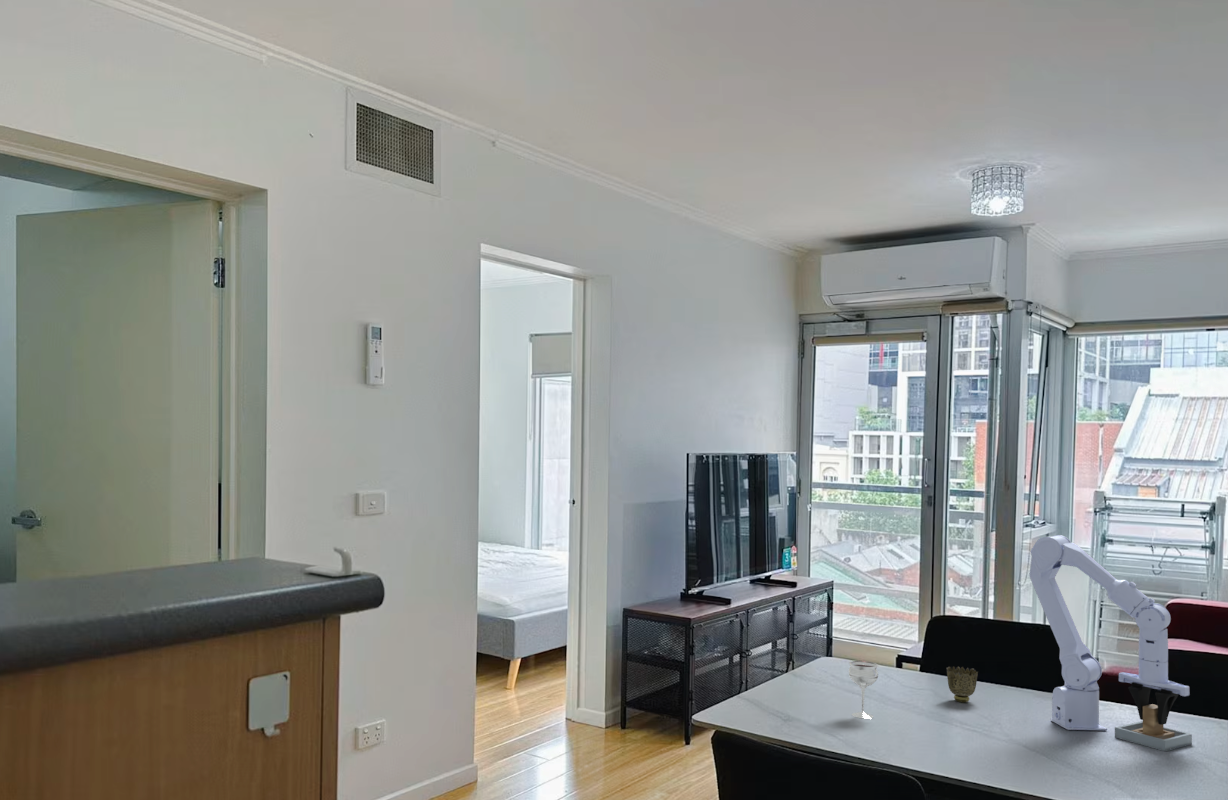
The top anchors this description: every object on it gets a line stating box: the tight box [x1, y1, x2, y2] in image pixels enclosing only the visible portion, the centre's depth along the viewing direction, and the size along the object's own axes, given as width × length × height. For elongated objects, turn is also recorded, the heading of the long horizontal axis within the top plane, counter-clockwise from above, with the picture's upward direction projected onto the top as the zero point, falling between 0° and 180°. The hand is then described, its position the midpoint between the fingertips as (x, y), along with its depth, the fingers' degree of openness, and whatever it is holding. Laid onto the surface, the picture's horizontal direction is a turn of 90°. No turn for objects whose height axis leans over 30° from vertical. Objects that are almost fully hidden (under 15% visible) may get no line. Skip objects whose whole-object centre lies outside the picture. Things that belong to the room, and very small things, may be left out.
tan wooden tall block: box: [1142, 703, 1164, 736], centre depth 211 cm, size 2×4×7 cm, turn 122°
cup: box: [946, 666, 979, 704], centre depth 240 cm, size 8×7×8 cm
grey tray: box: [1114, 720, 1193, 752], centre depth 211 cm, size 11×11×2 cm
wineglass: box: [848, 660, 879, 719], centre depth 224 cm, size 7×7×12 cm
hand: (1153, 721), depth 211 cm, fingers open, 3 cm apart
